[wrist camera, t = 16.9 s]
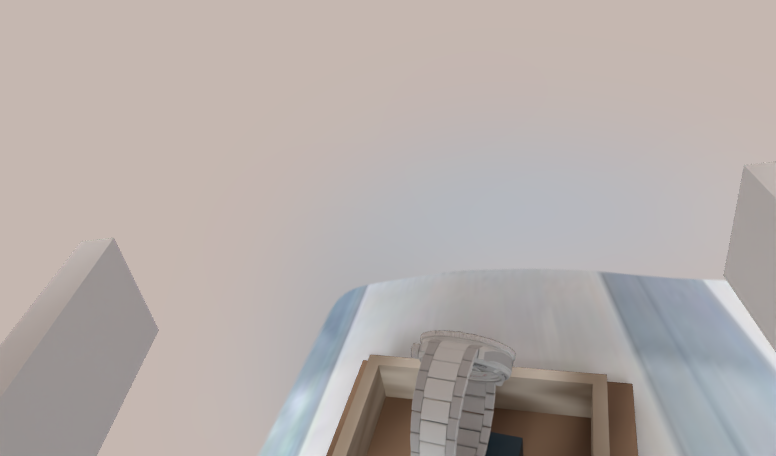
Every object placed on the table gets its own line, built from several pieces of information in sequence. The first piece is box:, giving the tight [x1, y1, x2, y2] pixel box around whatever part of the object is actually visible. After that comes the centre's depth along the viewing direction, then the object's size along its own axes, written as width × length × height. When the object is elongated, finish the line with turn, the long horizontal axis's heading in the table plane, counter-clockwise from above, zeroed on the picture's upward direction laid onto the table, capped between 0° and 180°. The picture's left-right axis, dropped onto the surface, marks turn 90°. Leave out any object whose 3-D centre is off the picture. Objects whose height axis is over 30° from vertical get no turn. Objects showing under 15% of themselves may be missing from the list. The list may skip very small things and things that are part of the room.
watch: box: [410, 331, 523, 456], centre depth 31 cm, size 6×8×11 cm
